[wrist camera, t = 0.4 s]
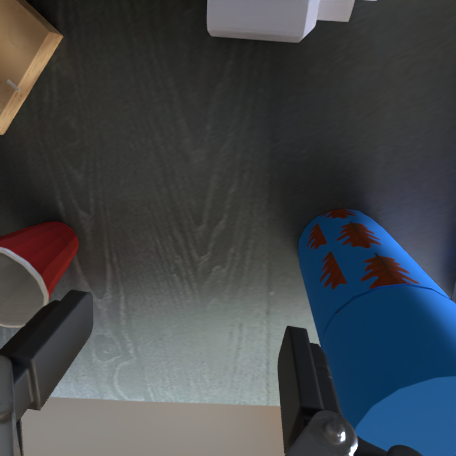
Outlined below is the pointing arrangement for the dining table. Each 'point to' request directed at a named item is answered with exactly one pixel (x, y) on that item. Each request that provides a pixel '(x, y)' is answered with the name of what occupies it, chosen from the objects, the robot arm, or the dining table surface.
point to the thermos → (382, 333)
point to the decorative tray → (454, 294)
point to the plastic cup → (32, 268)
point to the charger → (272, 17)
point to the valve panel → (21, 54)
